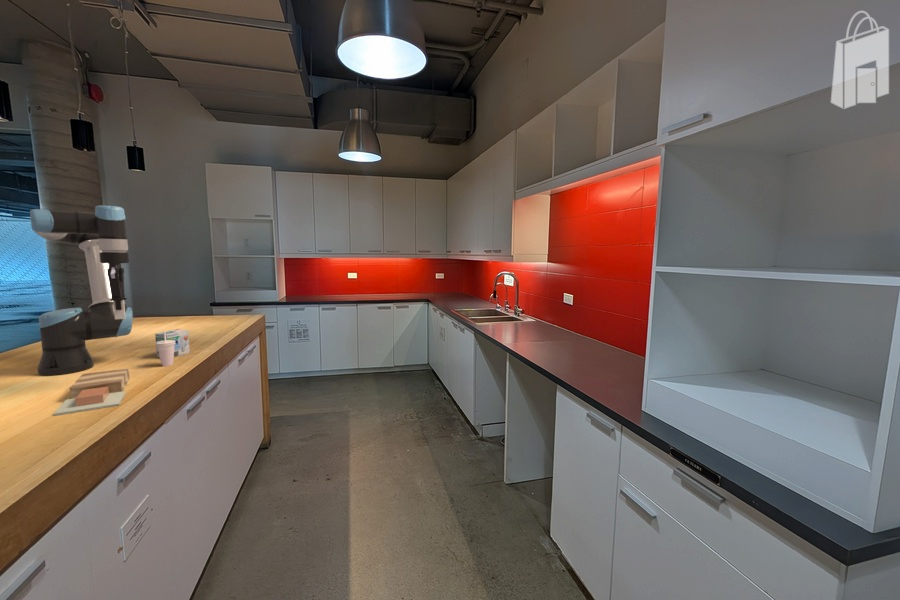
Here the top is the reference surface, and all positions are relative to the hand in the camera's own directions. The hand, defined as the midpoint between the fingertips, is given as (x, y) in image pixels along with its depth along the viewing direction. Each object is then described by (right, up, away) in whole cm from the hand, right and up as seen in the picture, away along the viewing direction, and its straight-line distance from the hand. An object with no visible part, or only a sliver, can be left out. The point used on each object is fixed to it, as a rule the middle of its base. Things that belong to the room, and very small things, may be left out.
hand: (120, 318), depth 132 cm
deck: (0, -23, -6) cm, 24 cm away
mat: (+7, -25, -18) cm, 32 cm away
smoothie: (+1, -20, +21) cm, 29 cm away
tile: (+7, -24, -17) cm, 30 cm away
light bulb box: (-7, -18, +35) cm, 40 cm away
